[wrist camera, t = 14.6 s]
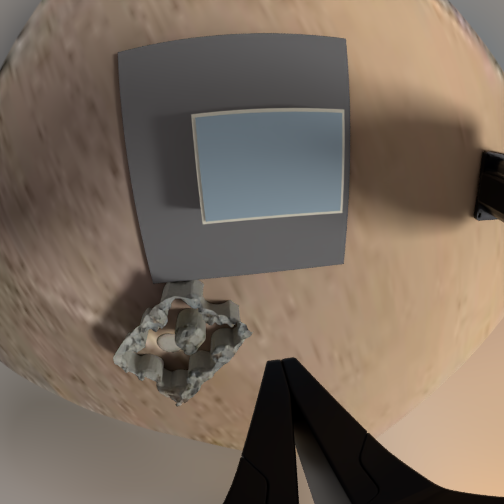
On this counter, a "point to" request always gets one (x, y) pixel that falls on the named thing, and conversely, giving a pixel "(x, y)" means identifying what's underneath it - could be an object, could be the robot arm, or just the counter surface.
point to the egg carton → (183, 341)
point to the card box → (269, 163)
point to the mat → (183, 154)
